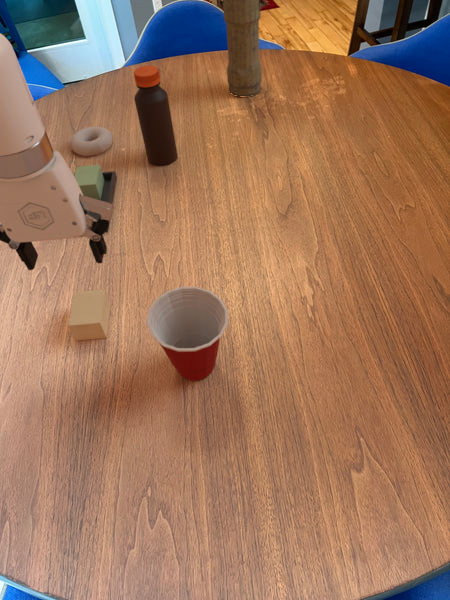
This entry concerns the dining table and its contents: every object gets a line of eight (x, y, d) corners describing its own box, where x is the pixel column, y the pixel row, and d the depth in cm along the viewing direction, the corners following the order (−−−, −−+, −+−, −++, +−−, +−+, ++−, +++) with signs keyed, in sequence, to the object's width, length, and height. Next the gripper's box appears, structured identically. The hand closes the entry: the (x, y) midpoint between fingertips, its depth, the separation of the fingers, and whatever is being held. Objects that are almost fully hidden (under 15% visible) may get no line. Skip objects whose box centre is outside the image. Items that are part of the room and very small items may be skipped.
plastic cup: (226, 401, 68) (220, 353, 59) (153, 392, 69) (136, 344, 60) (238, 339, 75) (234, 287, 65) (171, 332, 76) (158, 281, 67)
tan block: (75, 340, 77) (67, 325, 74) (82, 307, 81) (74, 291, 78) (106, 338, 76) (100, 322, 73) (111, 304, 81) (105, 289, 78)
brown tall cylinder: (222, 83, 131) (211, -76, 105) (266, 80, 131) (265, -80, 104) (222, 99, 125) (209, -65, 99) (267, 96, 125) (267, -70, 98)
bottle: (149, 170, 106) (130, 81, 91) (146, 154, 111) (127, 66, 96) (179, 165, 107) (165, 75, 92) (175, 149, 111) (160, 60, 96)
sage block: (77, 202, 100) (71, 186, 97) (81, 182, 104) (76, 166, 101) (100, 200, 100) (95, 184, 96) (104, 180, 104) (99, 164, 101)
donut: (93, 133, 119) (63, 152, 114) (89, 120, 116) (59, 138, 111) (123, 143, 115) (93, 163, 110) (119, 130, 112) (89, 150, 107)
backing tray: (56, 238, 93) (53, 230, 92) (71, 183, 105) (68, 175, 104) (108, 234, 93) (105, 225, 92) (117, 179, 105) (115, 170, 103)
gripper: (-67, 179, 53) (0, 284, 66) (88, 163, 52) (125, 273, 65) (-45, 143, 58) (13, 247, 70) (96, 128, 57) (129, 236, 70)
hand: (67, 259), depth 68 cm, fingers open, 9 cm apart
